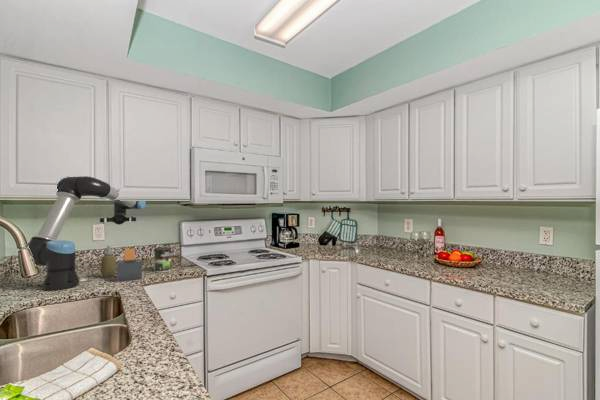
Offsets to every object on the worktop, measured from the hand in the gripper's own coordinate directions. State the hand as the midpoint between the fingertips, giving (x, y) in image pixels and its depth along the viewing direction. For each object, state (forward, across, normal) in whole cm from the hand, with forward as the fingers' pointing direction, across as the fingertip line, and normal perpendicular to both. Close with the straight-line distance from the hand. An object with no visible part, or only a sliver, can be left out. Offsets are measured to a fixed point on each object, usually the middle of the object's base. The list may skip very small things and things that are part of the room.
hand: (117, 220), depth 190 cm
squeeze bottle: (+13, +4, -32) cm, 35 cm away
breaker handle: (+27, -7, -22) cm, 35 cm away
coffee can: (+12, -25, -32) cm, 42 cm away
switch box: (+25, -7, -32) cm, 41 cm away
